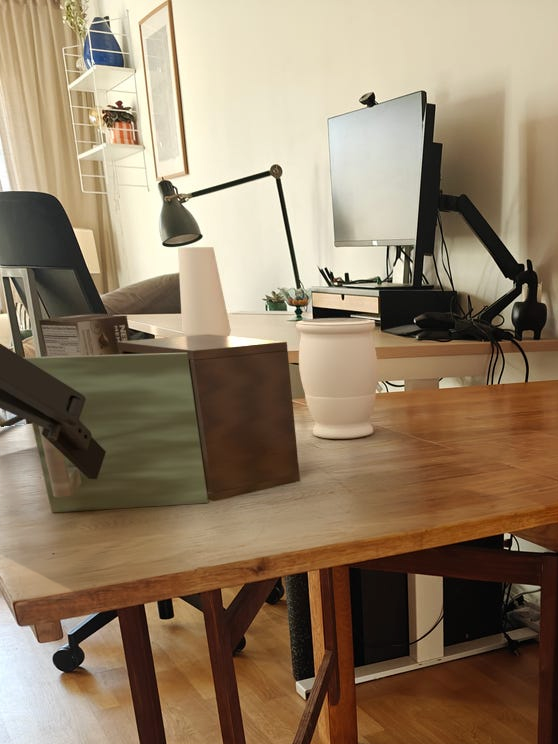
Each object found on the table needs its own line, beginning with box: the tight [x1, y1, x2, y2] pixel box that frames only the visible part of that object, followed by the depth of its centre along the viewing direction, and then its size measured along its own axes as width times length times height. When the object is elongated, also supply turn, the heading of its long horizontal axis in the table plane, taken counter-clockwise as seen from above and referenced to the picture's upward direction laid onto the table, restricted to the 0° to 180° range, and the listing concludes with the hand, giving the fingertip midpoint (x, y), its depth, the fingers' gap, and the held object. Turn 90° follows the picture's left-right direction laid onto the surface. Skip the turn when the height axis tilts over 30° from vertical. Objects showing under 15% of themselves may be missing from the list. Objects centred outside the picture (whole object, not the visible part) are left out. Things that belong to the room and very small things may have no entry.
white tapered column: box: [177, 246, 232, 336], centre depth 125 cm, size 7×7×24 cm
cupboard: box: [117, 334, 301, 502], centre depth 93 cm, size 11×15×15 cm
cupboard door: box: [22, 353, 209, 514], centre depth 81 cm, size 6×15×14 cm, turn 103°
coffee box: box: [38, 313, 132, 357], centre depth 112 cm, size 9×6×16 cm
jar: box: [295, 317, 379, 440], centre depth 118 cm, size 11×10×15 cm
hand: (26, 462), depth 74 cm, fingers open, 13 cm apart
